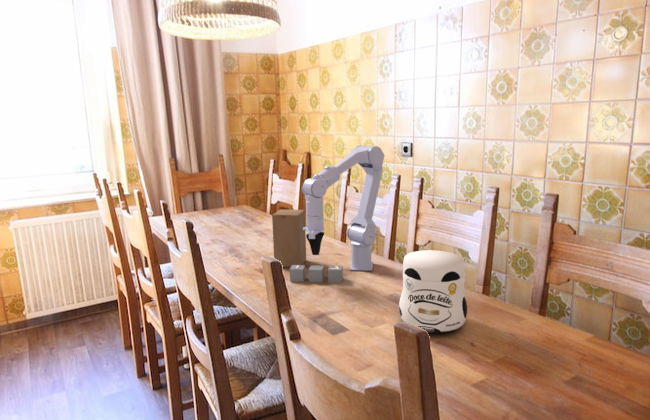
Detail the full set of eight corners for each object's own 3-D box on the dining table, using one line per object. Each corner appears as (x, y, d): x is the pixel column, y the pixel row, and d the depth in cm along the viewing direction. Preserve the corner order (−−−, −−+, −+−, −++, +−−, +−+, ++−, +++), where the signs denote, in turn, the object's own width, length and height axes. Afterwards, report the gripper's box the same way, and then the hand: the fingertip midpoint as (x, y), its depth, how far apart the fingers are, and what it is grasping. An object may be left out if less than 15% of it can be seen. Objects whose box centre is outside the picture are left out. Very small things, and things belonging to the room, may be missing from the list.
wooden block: (300, 268, 168) (298, 215, 164) (274, 267, 170) (271, 214, 166) (306, 260, 177) (305, 209, 173) (281, 259, 179) (279, 209, 175)
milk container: (418, 344, 110) (419, 273, 107) (388, 315, 126) (388, 252, 123) (480, 333, 115) (483, 264, 111) (444, 306, 131) (445, 246, 128)
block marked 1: (292, 277, 159) (292, 264, 158) (305, 277, 158) (305, 264, 157) (290, 281, 154) (289, 268, 154) (303, 282, 154) (302, 268, 153)
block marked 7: (329, 278, 157) (329, 265, 156) (342, 278, 157) (342, 265, 156) (328, 282, 153) (327, 269, 152) (341, 283, 152) (341, 269, 151)
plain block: (311, 277, 158) (310, 265, 157) (324, 278, 157) (323, 265, 156) (309, 282, 154) (308, 269, 153) (322, 282, 153) (321, 269, 152)
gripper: (306, 210, 159) (307, 248, 161) (298, 219, 144) (300, 260, 147) (326, 210, 158) (327, 248, 160) (320, 219, 144) (321, 261, 146)
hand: (315, 254), depth 154 cm, fingers closed
